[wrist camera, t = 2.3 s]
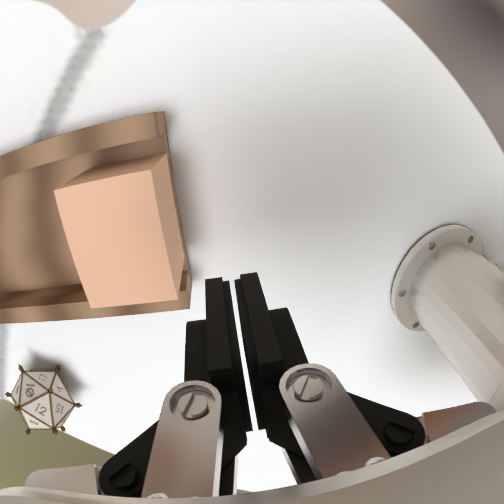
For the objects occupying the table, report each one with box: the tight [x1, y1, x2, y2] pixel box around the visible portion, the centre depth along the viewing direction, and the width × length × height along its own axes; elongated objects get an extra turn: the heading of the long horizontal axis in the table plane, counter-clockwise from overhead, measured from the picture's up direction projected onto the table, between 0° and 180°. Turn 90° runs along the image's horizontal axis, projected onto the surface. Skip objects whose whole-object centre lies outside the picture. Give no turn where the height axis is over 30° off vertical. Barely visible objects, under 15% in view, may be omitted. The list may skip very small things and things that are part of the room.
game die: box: [5, 365, 82, 435], centre depth 27 cm, size 9×8×10 cm
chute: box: [0, 111, 192, 324], centre depth 21 cm, size 22×14×5 cm, turn 95°
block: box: [54, 153, 185, 309], centre depth 20 cm, size 6×8×6 cm
